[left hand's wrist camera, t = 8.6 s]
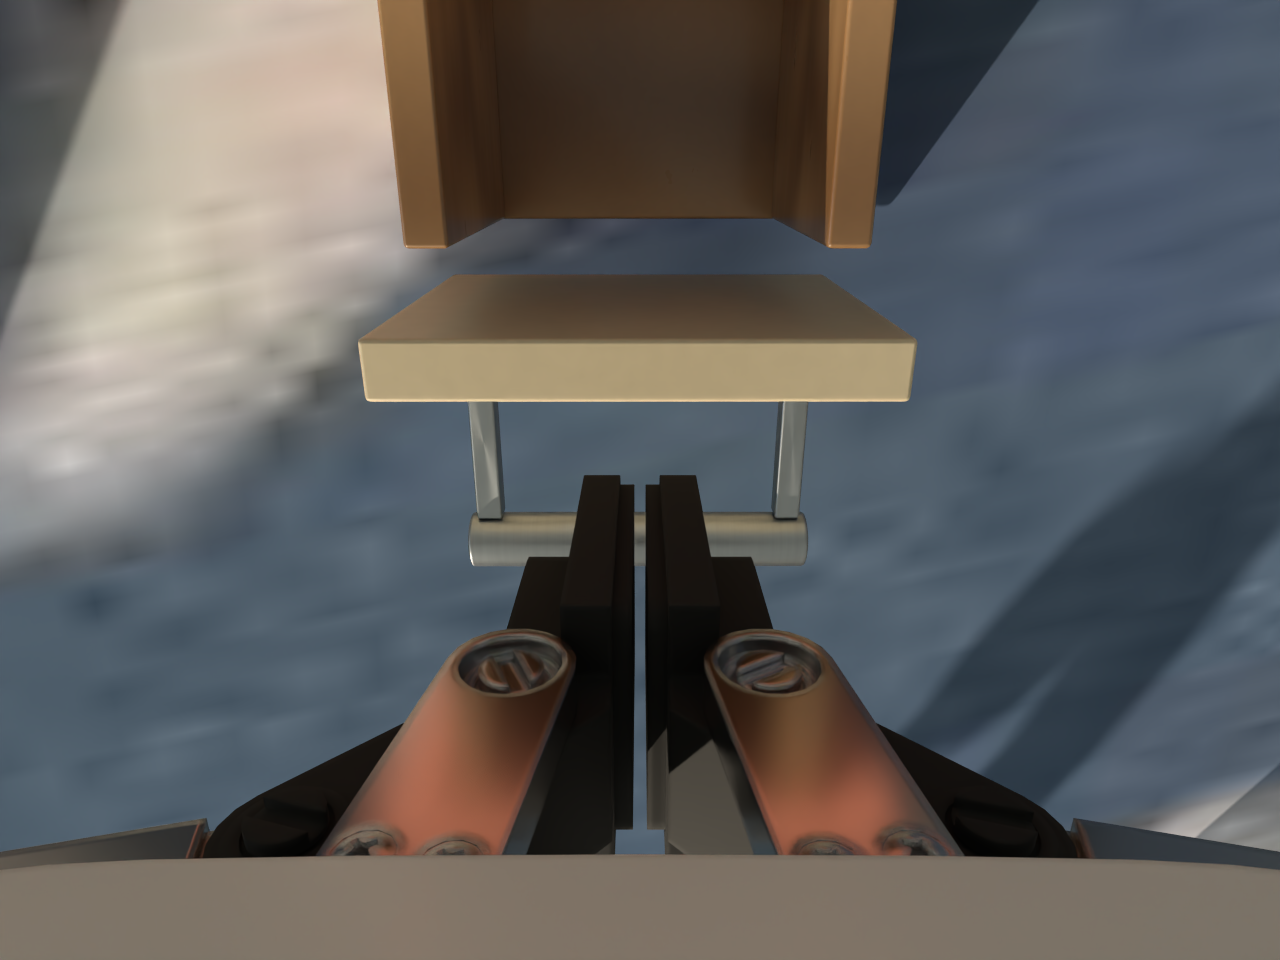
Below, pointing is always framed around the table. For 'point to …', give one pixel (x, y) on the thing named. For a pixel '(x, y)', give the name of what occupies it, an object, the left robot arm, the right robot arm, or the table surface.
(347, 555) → the table surface
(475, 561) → the drawer
